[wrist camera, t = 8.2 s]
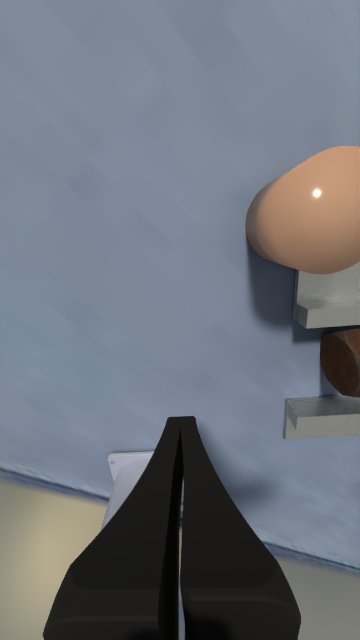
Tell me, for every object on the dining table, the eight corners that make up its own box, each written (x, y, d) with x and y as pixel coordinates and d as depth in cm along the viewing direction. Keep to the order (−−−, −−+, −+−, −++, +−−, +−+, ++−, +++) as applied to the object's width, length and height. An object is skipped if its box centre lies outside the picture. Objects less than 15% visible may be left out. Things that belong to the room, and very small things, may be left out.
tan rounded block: (321, 258, 18) (381, 269, 13) (245, 265, 19) (270, 278, 13) (331, 171, 16) (408, 138, 11) (245, 181, 17) (276, 153, 11)
